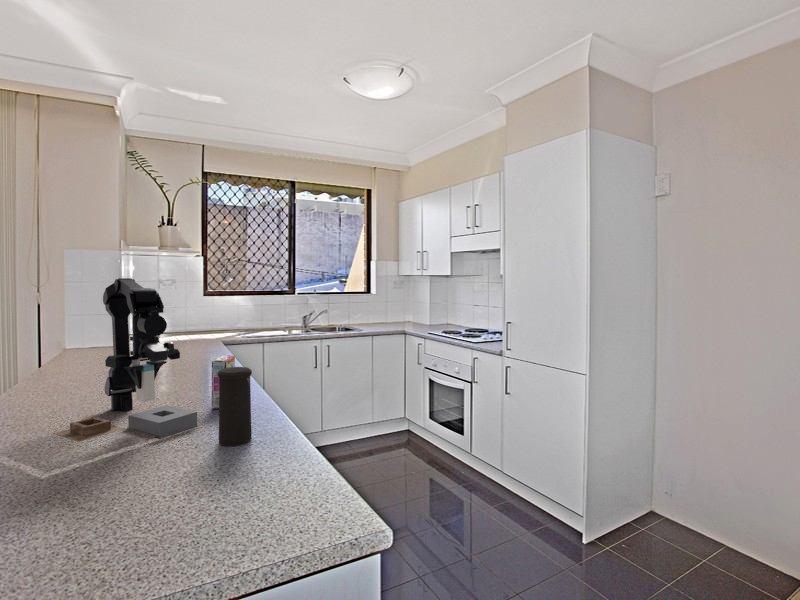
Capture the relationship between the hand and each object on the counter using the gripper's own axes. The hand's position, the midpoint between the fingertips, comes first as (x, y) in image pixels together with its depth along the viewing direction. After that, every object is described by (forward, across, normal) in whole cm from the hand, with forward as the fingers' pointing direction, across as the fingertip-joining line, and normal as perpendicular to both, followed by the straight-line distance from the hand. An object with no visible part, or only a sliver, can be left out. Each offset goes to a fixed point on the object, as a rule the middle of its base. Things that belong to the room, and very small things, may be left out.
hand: (145, 387), depth 132 cm
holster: (+12, -10, +10) cm, 19 cm away
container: (+13, +7, -29) cm, 32 cm away
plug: (+4, 0, 0) cm, 4 cm away
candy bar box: (+13, +29, +3) cm, 32 cm away
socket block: (+12, +4, -3) cm, 13 cm away
